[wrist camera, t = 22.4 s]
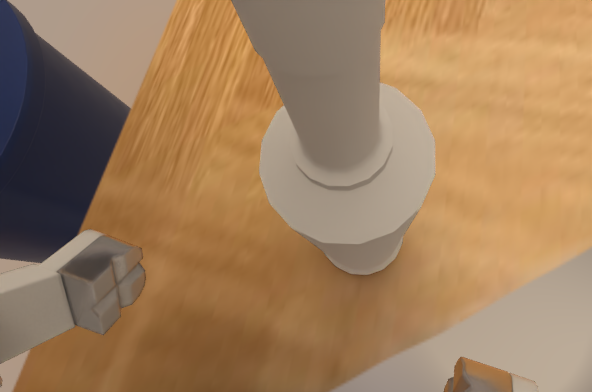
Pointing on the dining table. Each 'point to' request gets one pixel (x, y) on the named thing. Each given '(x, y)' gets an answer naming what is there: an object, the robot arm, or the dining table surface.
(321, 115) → the white round tapered piece
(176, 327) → the dining table surface
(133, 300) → the robot arm
